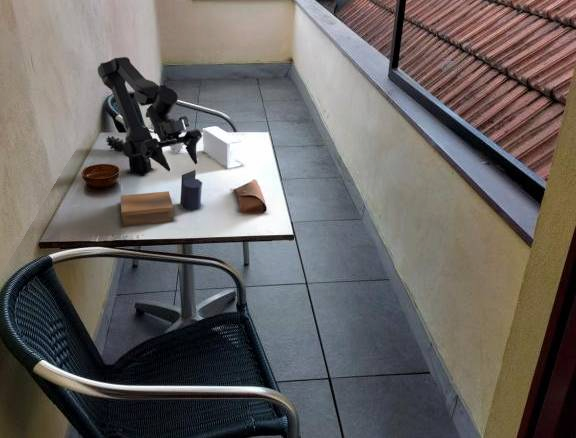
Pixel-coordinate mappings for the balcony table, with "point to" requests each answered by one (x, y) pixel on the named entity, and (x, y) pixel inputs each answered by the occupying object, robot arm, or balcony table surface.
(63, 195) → the balcony table surface
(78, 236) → the balcony table surface
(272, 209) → the balcony table surface
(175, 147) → the white coral
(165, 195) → the wooden block base
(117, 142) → the pine cone
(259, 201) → the sunglasses case
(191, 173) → the speaker
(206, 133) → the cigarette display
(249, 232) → the balcony table surface
